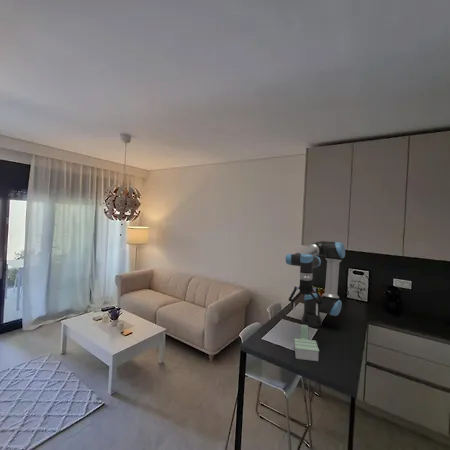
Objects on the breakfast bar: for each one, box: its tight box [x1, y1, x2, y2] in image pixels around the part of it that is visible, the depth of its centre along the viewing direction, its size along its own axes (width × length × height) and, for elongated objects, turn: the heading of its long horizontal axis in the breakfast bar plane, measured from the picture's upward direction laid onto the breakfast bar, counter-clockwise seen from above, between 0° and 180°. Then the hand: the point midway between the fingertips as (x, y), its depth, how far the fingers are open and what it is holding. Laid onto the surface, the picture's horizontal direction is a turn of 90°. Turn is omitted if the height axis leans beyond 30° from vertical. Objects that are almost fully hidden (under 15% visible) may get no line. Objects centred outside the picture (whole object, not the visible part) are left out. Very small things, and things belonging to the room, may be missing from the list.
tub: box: [294, 346, 319, 362], centre depth 147 cm, size 12×12×6 cm
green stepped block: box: [293, 323, 320, 353], centre depth 150 cm, size 18×13×8 cm
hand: (305, 313), depth 156 cm, fingers open, 13 cm apart
